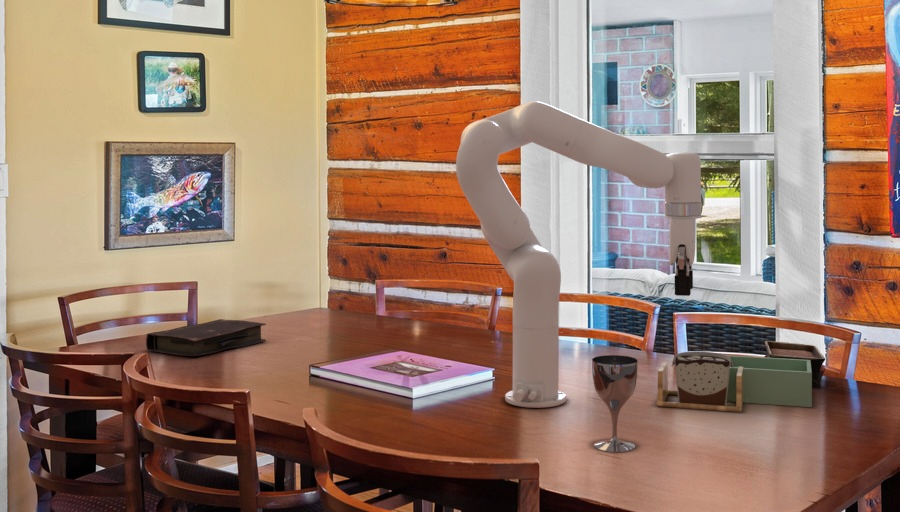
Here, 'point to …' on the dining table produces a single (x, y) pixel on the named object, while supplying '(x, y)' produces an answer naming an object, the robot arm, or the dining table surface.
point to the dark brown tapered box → (798, 356)
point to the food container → (702, 377)
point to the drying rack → (664, 392)
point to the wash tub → (772, 381)
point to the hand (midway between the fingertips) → (684, 292)
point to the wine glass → (614, 392)
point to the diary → (205, 337)
